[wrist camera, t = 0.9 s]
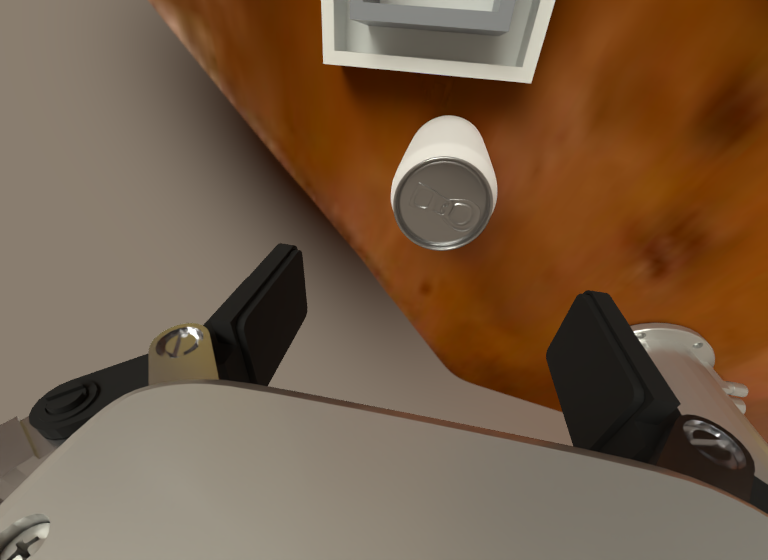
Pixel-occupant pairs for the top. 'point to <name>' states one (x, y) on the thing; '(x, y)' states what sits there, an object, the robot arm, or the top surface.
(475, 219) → the can
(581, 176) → the top surface
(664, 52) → the top surface
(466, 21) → the inlet box
